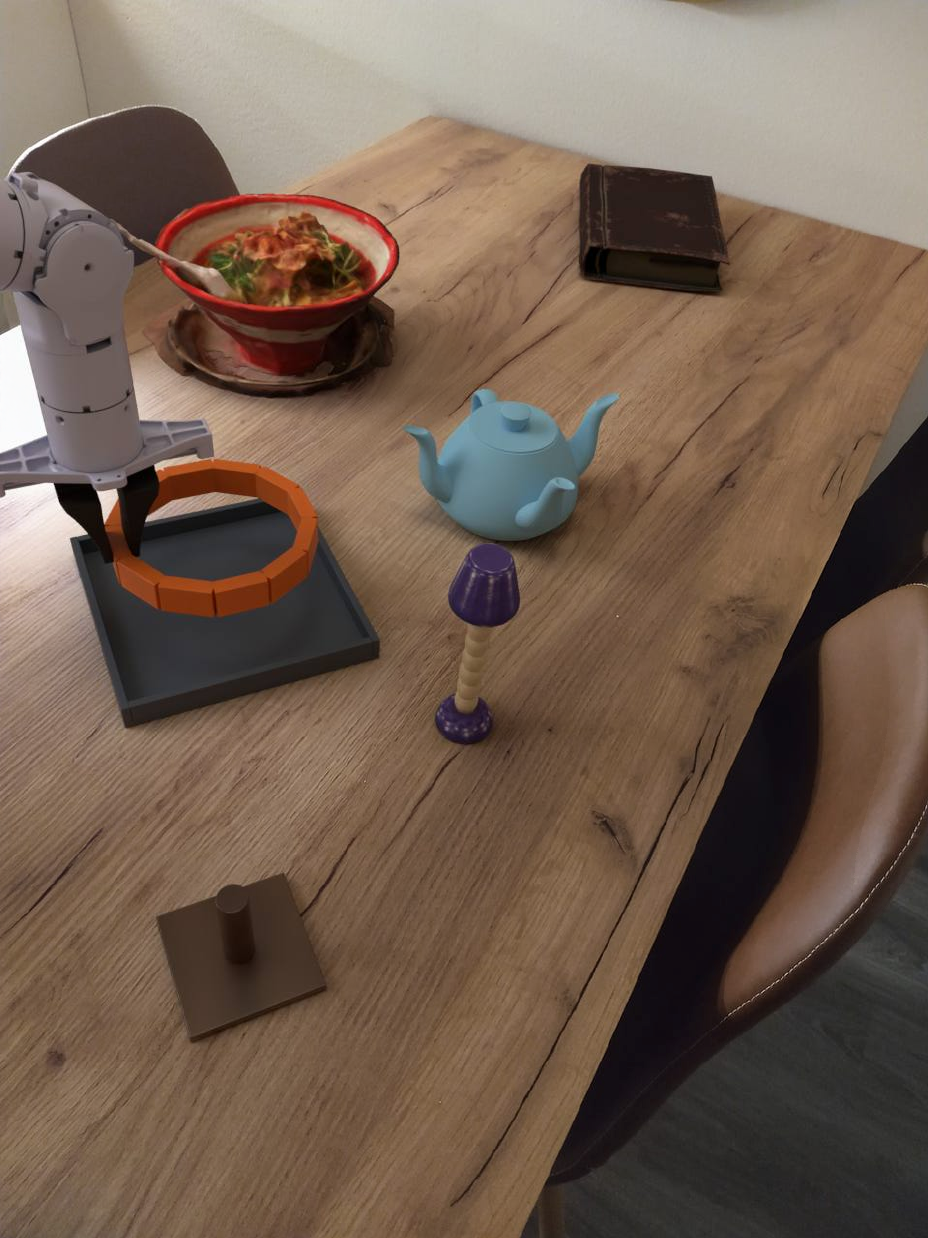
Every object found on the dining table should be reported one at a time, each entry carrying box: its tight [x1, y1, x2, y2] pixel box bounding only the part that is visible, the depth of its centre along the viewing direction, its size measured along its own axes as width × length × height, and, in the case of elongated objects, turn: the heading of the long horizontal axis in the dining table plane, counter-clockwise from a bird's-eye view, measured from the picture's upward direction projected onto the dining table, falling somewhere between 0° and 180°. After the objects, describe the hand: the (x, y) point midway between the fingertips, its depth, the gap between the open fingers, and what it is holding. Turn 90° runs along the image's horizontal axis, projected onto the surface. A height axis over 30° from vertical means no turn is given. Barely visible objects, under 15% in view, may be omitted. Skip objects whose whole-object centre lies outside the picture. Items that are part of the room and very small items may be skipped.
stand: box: [155, 872, 327, 1043], centre depth 59 cm, size 8×8×7 cm
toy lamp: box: [434, 542, 521, 745], centre depth 69 cm, size 5×5×17 cm
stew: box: [109, 193, 401, 399], centre depth 102 cm, size 28×24×16 cm
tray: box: [69, 498, 381, 729], centre depth 80 cm, size 19×19×2 cm
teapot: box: [402, 388, 620, 542], centre depth 90 cm, size 15×15×10 cm
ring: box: [104, 458, 319, 618], centre depth 75 cm, size 15×15×2 cm
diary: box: [578, 162, 731, 293], centre depth 132 cm, size 19×25×5 cm
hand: (119, 551), depth 73 cm, fingers closed on ring, 1 cm apart
